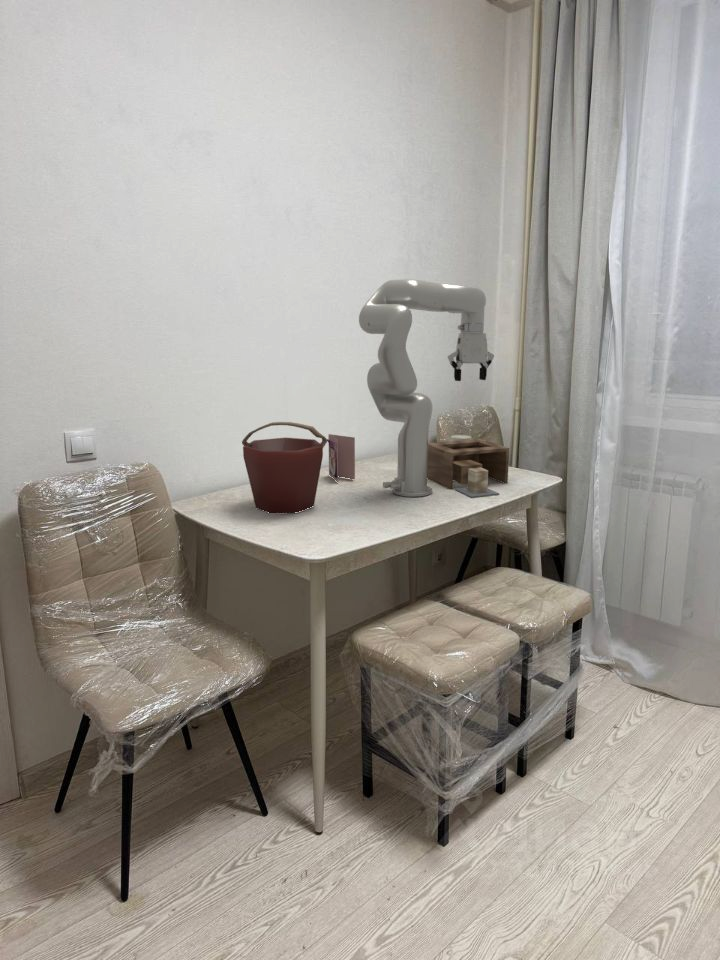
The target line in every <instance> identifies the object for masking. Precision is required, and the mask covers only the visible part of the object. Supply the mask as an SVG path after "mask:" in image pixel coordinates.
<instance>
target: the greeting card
mask: <svg viewBox="0 0 720 960" xmlns="http://www.w3.org/2000/svg"><path fill="white" fill-rule="evenodd" d="M355 438H356V437H353V436H348V435H347V436H346V435H339V434H331V433H328V439H327V438H326V439H327V440H328V441H327V444H328V476H329V475H330V476H331V477H333V478H334V479H335V480H336V481H337V482H338V483H339V478H338V476H339V477H345V478H350V479H355V480H356V464H355V463H356V454H355V453H356V452H355V450H356V448H355V447H356V444H355V443H356V440H355ZM331 477H330V478H331ZM337 482H336V483H337Z"/></svg>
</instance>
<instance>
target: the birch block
mask: <svg viewBox="0 0 720 960" xmlns="http://www.w3.org/2000/svg"><path fill="white" fill-rule="evenodd" d="M488 480H489V477H488V470H486V469H483V468H471V469H468V483H467V488H468V491H471V492H473V493H483V492H487V488H488V487H489V486H488V483H489V481H488Z"/></svg>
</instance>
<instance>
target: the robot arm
mask: <svg viewBox="0 0 720 960" xmlns="http://www.w3.org/2000/svg"><path fill="white" fill-rule="evenodd" d="M486 303H487V297H486V295H485V292H484V291H483V290H482V289H480V288H476V287H472V286H466V285H464V286H463V285H453V284H448V283H438V282H431V281H426V280H422V279H421V280H420V279H414V278H413V279H412V278H404V279H389V280H387V281H385V282H384V283H383V284H382V285H380V287H379V288H378V289H377V290H376V291H374V293H373V294H372V295H371V297H369V299H368V300H367V301H366V303H364V305H363V307H362V308H361V309H360V313H359V314H358V315H359V316H358V323H359V326H360V328H361V330H362V331H363V332H365V333H367V334H371V335H383V337H382V339H381V341H380V344H379V347H378V349H377V359H378V362H377V363H375V364H373V365H371V366H370V367H369V369H368V371H367V377H366V381H367V382H366V383H367V387H368V391H369V393H370V395H371V397H372V400H373V402H374V404H375V406H376V409H377V410H378V412H379V414H380V415H381V417H382V418H383V419H385V420H387V421H391V422H397V423H403V425H402V427H401V429H400V431H399V433H398V436H397V437H398V438H397V475H396V477H394V478H393V479H394V480H392V481H383V482H382V488H383V489H389V488H390V489H392V493H393V494H394V495H397V496H401V497H407V498H408V497H409V498H410V497H412V498H415V497H424V496H425V497H426V496H429V495H431V494H432V493H433V488H432V487H430V486H429V485H428V479H427V476H428V443H429V432H430V424H431V418H432V414H433V402H432V400H431V398H430V397H429V396H427V395H425V394H424V393H421V392H420V393H419V392H415V391H416V390H417V387H418V378H417V375H416V373H415V371H414V368H413V366H412V363H411V360H410V358H409V355H408V352H407V348H406V347H407V340H408V336H409V333H410V330H411V328H412V323H413V314H412V311H411V310H418V311H427V312H435V313H437V312H438V313H440V312H441V313H442V312H443V313H445V312H446V313H449V314H460V315H461V317H460V319H461V320H460V325H458V326H457V330H460V332H459V333H458V336H457V342H456V349H455V351H453V352H452V353H450V354H449V355H447V359H448V362H449V364H450V366H452V368H453V370H454V371H453V378H454V381H456V382H461V381H462V369H461V368H462V366H463V364H479V365H480V368H479V378H478V379H479V380H481V381H486V379H487V376H488V375H487V372H488V371H487V370H488V369H489V366H490V365H491V364H492V363H493V362H492V361H493V360H494V357H495V355H494V354H493V353H491V352H490V351H488V339H487V333H486V332H484V326H485V325H484V323H485V306H486Z"/></svg>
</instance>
